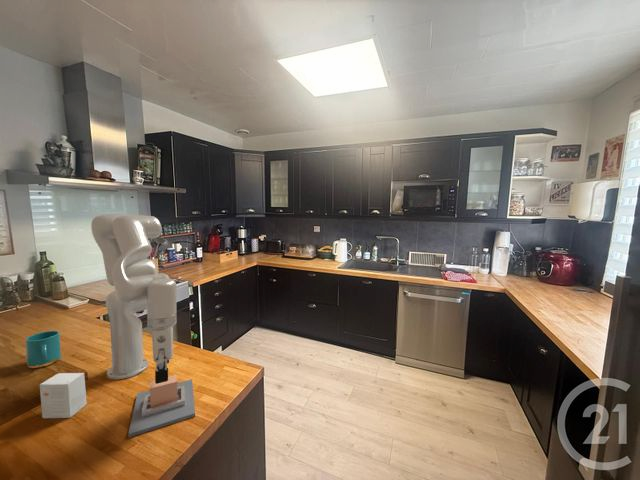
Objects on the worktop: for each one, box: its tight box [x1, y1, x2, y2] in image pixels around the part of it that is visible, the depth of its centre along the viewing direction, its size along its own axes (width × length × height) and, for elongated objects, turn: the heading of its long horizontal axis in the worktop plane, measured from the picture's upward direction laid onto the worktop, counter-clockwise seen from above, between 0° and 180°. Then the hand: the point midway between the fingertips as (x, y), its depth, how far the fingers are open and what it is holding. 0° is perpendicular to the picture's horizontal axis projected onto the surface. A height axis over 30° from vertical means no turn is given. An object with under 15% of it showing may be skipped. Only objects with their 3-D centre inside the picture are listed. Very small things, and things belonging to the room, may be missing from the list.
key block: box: [149, 374, 178, 408], centre depth 79 cm, size 7×4×7 cm, turn 120°
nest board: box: [127, 378, 196, 439], centre depth 79 cm, size 18×16×2 cm
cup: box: [25, 330, 62, 367], centre depth 99 cm, size 9×12×11 cm
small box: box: [39, 372, 88, 419], centre depth 76 cm, size 8×6×10 cm
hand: (162, 372), depth 79 cm, fingers open, 9 cm apart
